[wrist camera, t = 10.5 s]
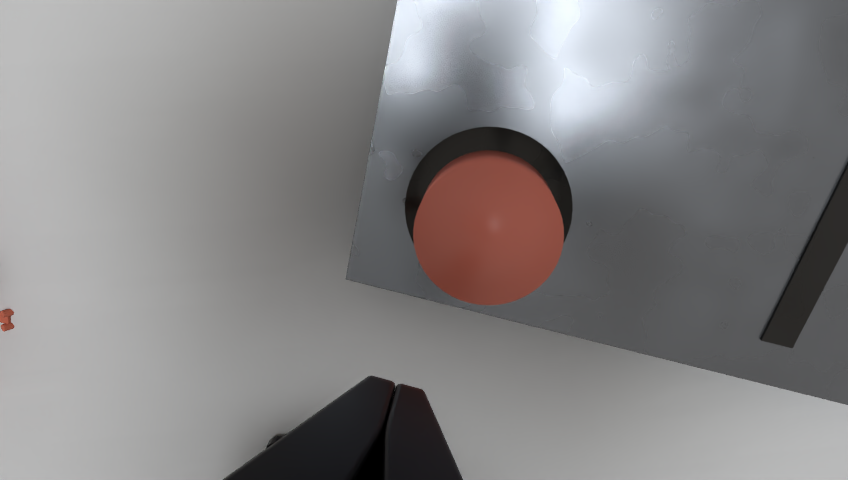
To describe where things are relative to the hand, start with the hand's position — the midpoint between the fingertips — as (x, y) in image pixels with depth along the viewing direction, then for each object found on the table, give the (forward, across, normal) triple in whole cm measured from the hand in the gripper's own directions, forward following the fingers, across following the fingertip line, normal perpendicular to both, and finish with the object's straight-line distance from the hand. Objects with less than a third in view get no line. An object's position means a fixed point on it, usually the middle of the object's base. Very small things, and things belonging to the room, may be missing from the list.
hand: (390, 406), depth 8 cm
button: (+9, -1, -1) cm, 9 cm away
